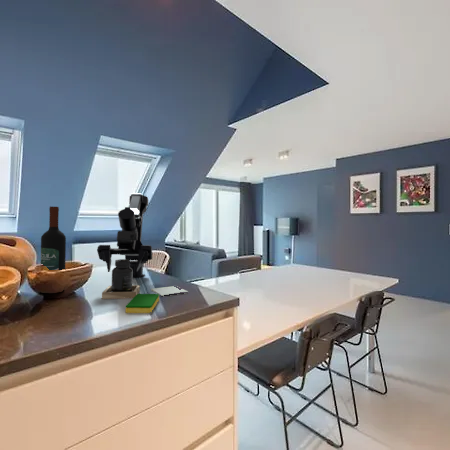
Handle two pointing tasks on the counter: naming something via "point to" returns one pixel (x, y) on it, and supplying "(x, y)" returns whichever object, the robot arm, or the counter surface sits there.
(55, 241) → the wine bottle
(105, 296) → the frame
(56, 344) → the counter surface
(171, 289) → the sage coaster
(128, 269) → the supplement bottle
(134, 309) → the dish sponge
